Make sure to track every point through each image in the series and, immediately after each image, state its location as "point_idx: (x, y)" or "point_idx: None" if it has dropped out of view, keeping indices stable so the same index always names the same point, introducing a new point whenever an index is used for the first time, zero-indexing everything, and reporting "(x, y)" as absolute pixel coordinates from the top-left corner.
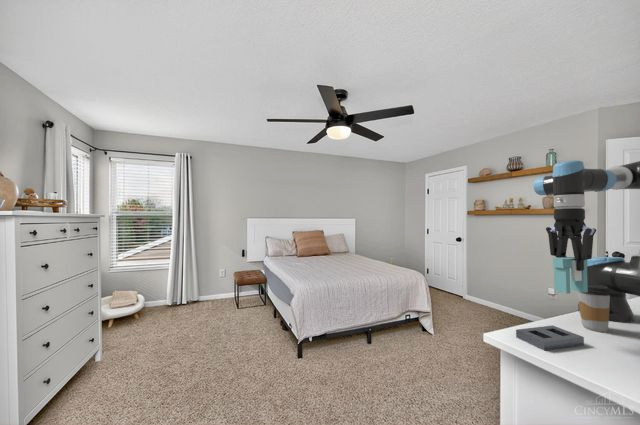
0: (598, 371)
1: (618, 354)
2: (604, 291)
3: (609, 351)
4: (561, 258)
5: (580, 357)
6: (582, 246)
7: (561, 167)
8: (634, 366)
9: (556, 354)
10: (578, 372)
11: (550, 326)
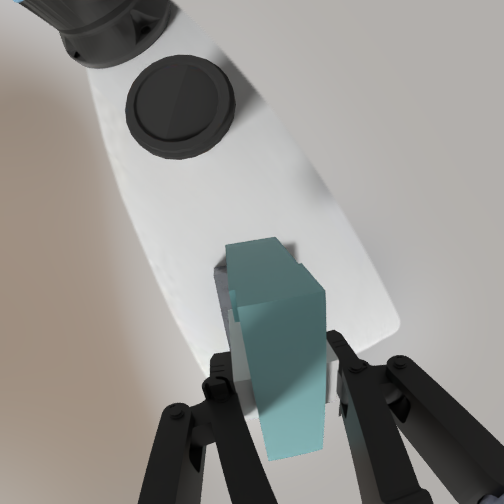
0: (360, 318)
1: (326, 225)
2: (229, 103)
3: (313, 230)
4: (302, 445)
5: None
6: (421, 452)
7: None
8: (362, 246)
9: None
10: (354, 345)
11: (220, 286)
